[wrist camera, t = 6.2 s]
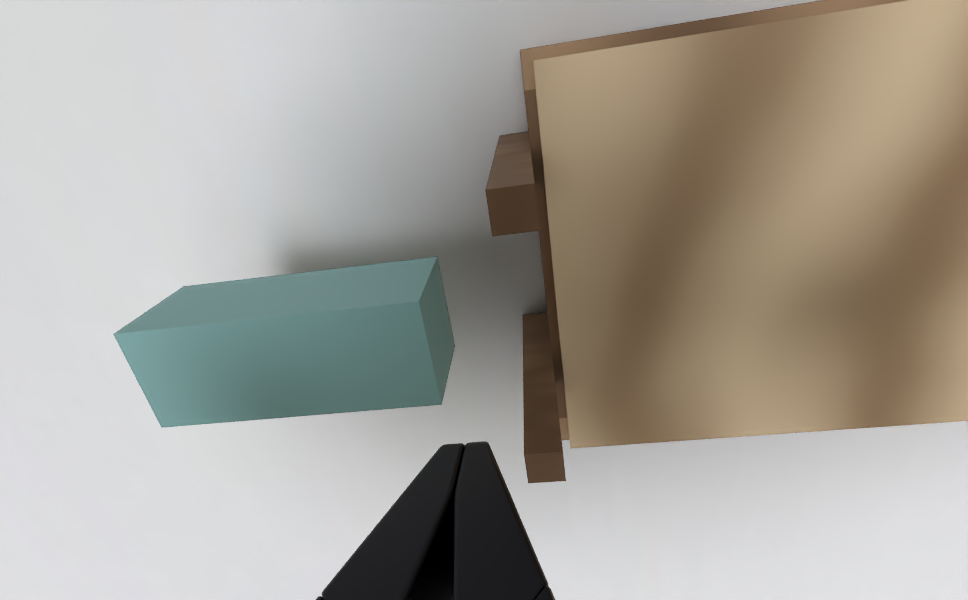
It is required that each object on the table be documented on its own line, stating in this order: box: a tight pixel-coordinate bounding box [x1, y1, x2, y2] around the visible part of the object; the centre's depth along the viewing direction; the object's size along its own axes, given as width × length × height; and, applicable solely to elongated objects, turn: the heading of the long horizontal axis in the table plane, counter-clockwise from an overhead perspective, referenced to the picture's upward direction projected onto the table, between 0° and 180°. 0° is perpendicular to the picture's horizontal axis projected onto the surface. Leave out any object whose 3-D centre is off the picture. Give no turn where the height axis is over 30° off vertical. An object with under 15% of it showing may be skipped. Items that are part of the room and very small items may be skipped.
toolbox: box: [486, 0, 906, 483], centre depth 14 cm, size 23×13×8 cm, turn 98°
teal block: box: [114, 257, 455, 427], centre depth 14 cm, size 8×3×3 cm, turn 98°
